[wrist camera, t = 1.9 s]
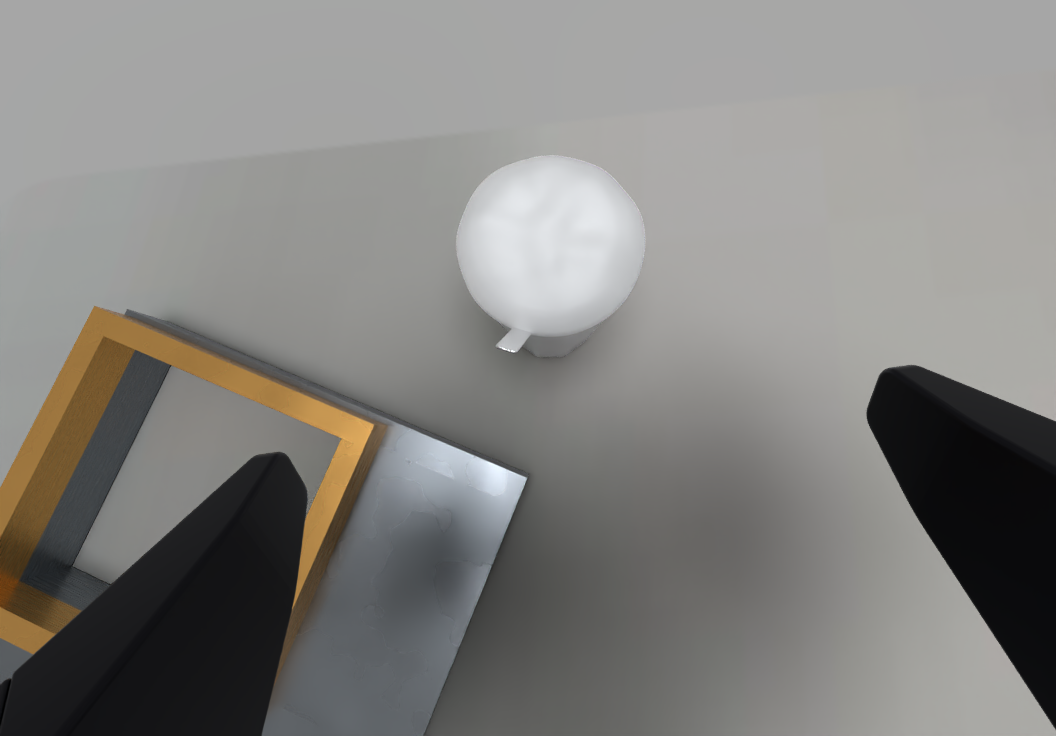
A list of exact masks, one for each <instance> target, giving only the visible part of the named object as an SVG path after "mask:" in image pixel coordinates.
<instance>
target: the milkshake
mask: <svg viewBox="0 0 1056 736" xmlns="http://www.w3.org/2000/svg"><path fill="white" fill-rule="evenodd" d="M456 252H457V258H458V262H459V266H460V270H461V273H462V276H463V278H464V281H465V283H466V286H467V288H468V290H469V292H470V294H471V295H472V297H473V298H474V300H475V301H476V303H477V304H478V305H479V306H480V307H481V308H482V309H483V310H484V311H485V312H486V313H487V314H488V315H489V316H491V317H492V318H493V319H495V320H496V321H497V322H498V323H499V324H500V325H501V326H502V327H503V328H504V329H505V330H506V331H507V334H506V335H505V336H504V337H503V338H502V339H501V340H500V341H499V342H498V343H497V344H496V345H495V347H496V348H497V349H500V350H504V351H507V352H510V353H517V352H518V351H519V350H520V348H521V347H524V348H525V349H526V350H528V351H529V352H531V353H532V354H534V355H535V356H536V357H565V356H566V355H567V354H569V353H570V352H571V351H573V350H574V349H575V348H577V347H578V346H579V345H581V344H582V343H584V342H585V341H586V340H587V339H588V338H589V336H590V335H591V334H592V333H593V332H594V331H595V330H596V328H597V327H598V326H599V325H600V324H601V323H602V322H604V321H605V320H606V319H607V318H608V317H609V316H610V315H612V314H613V313H614V312H615V311H616V310H617V309H618V308H619V307H620V306H621V305H622V304H623V303H624V301H625V300H626V299H627V297H628V296H629V294H630V293H631V291H632V289H633V287H634V285H635V283H636V281H637V278H638V276H639V273H640V270H641V267H642V263H643V259H644V253H645V230H644V224H643V219H642V216H641V213H640V211H639V209H638V207H637V205H636V204H635V202H634V201H633V200H632V198H631V197H630V196H629V195H628V194H627V192H626V191H625V190H624V189H623V188H622V187H621V185H620V184H619V183H618V182H617V181H616V180H615V179H614V178H613V177H612V176H611V175H610V174H609V173H608V172H606V171H605V170H604V169H602V168H600V167H598V166H596V165H594V164H591V163H588V162H585V161H582V160H578V159H574V158H570V157H565V156H557V155H545V156H537V157H532V158H528V159H524V160H521V161H518V162H514V163H511V164H509V165H506V166H504V167H502V168H500V169H498V170H496V171H495V172H493V173H492V174H490V175H489V176H488V177H487V178H486V179H485V180H484V181H483V182H482V183H481V184H480V185H479V186H478V187H477V189H476V190H475V192H474V193H473V195H472V196H471V198H470V200H469V202H468V204H467V206H466V209H465V211H464V213H463V216H462V219H461V222H460V224H459V228H458V232H457V237H456Z"/></svg>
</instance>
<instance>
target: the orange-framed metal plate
mask: <svg viewBox="0 0 1056 736" xmlns="http://www.w3.org/2000/svg"><path fill="white" fill-rule="evenodd" d="M170 365H172V366H174V367H177V368H179V369H181V370H184V371H186V372H188V373H191V374H193V375H195V376H198V377H200V378H202V379H205V380H207V381H209V382H212V383H214V384H216V385H219V386H221V387H223V388H226V389H228V390H230V391H233V392H235V393H237V394H240V395H242V396H244V397H247V398H249V399H251V400H254V401H256V402H258V403H261V404H263V405H265V406H268V407H270V408H272V409H275V410H277V411H279V412H282V413H284V414H286V415H289V416H291V417H293V418H296V419H298V420H300V421H303V422H305V423H307V424H310V425H312V426H314V427H317V428H319V429H321V430H324V431H326V432H328V433H331V434H333V435H335V436H338V437H340V438H342V439H341V441H340V443H339V445H338V448H337V450H336V452H335V454H334V456H333V459H332V461H331V463H330V465H329V468H328V470H327V472H326V474H325V477H324V479H323V481H322V483H321V485H320V488H319V490H318V492H317V494H316V497H315V499H314V501H313V503H312V506H311V508H310V510H309V512H308V515H307V517H306V519H305V525H304V533H303V541H302V549H301V557H300V565H299V573H298V580H297V587H296V593H295V598H294V603H293V607H292V612H291V616H290V620H289V624H288V628H287V633H286V637H285V641H284V645H283V649H282V653H281V657H280V662H279V666H278V670H277V674H276V678H275V682H274V686H273V691H272V695H271V699H270V703H269V707H268V711H267V716H266V720H265V724H264V728H263V732H262V736H424V734H425V731H426V729H427V726H428V724H429V722H430V719H431V717H432V714H433V712H434V709H435V707H436V704H437V702H438V699H439V697H440V694H441V692H442V689H443V687H444V684H445V682H446V679H447V677H448V674H449V672H450V669H451V667H452V665H453V662H454V660H455V657H456V655H457V652H458V650H459V647H460V645H461V642H462V640H463V637H464V635H465V632H466V630H467V627H468V625H469V622H470V620H471V617H472V615H473V612H474V610H475V607H476V605H477V603H478V600H479V598H480V595H481V593H482V590H483V588H484V585H485V583H486V580H487V578H488V575H489V573H490V570H491V568H492V565H493V563H494V560H495V558H496V555H497V553H498V550H499V548H500V546H501V543H502V541H503V538H504V536H505V533H506V531H507V528H508V526H509V523H510V521H511V518H512V516H513V513H514V511H515V508H516V506H517V503H518V501H519V498H520V496H521V493H522V491H523V488H524V486H525V484H526V481H527V479H528V476H529V474H528V473H526V472H523V471H521V470H519V469H516V468H514V467H512V466H509V465H507V464H504V463H502V462H500V461H497V460H495V459H493V458H490V457H488V456H485V455H483V454H481V453H478V452H476V451H474V450H471V449H469V448H466V447H464V446H462V445H459V444H457V443H455V442H452V441H450V440H447V439H445V438H443V437H440V436H438V435H436V434H433V433H431V432H428V431H426V430H424V429H421V428H419V427H417V426H414V425H412V424H409V423H407V422H405V421H402V420H400V419H398V418H395V417H393V416H390V415H388V414H386V413H383V412H381V411H379V410H376V409H374V408H371V407H369V406H367V405H364V404H362V403H360V402H357V401H355V400H353V399H350V398H348V397H345V396H343V395H341V394H338V393H336V392H334V391H331V390H329V389H326V388H324V387H322V386H319V385H317V384H315V383H312V382H310V381H307V380H305V379H303V378H300V377H298V376H296V375H293V374H291V373H288V372H286V371H284V370H281V369H279V368H277V367H274V366H272V365H269V364H267V363H265V362H262V361H260V360H258V359H255V358H253V357H250V356H248V355H246V354H243V353H241V352H239V351H236V350H234V349H231V348H229V347H227V346H224V345H222V344H220V343H217V342H215V341H212V340H210V339H208V338H205V337H203V336H201V335H198V334H196V333H193V332H191V331H189V330H186V329H184V328H182V327H179V326H177V325H174V324H172V323H170V322H167V321H164V320H161V319H158V318H154V317H151V316H148V315H145V314H141V313H138V312H135V311H131V310H128V309H127V311H126V313H125V315H124V314H120V313H117V312H113V311H110V310H107V309H103V308H100V307H96V306H94V308H93V310H92V312H91V313H90V315H89V317H88V319H87V321H86V323H85V325H84V327H83V329H82V331H81V333H80V335H79V337H78V339H77V341H76V342H75V344H74V346H73V348H72V350H71V352H70V354H69V356H68V358H67V360H66V362H65V364H64V366H63V368H62V370H61V371H60V373H59V375H58V377H57V379H56V381H55V383H54V385H53V387H52V389H51V391H50V393H49V395H48V397H47V399H46V400H45V402H44V404H43V406H42V408H41V410H40V412H39V414H38V416H37V418H36V420H35V422H34V424H33V426H32V428H31V429H30V431H29V433H28V435H27V437H26V439H25V441H24V443H23V445H22V447H21V449H20V451H19V453H18V455H17V457H16V458H15V460H14V462H13V464H12V466H11V468H10V470H9V472H8V474H7V476H6V478H5V480H4V482H3V484H2V486H1V487H0V684H1V683H2V682H3V681H4V680H6V679H8V678H12V675H13V673H14V672H15V670H17V669H18V668H19V667H20V666H21V665H22V664H23V663H24V662H25V661H27V660H28V659H29V658H30V657H31V656H32V655H33V654H34V653H35V652H37V651H38V650H39V649H40V648H41V647H42V646H43V645H44V644H45V643H47V642H48V641H49V640H50V639H51V638H52V637H53V636H54V635H55V634H57V633H58V632H59V631H60V630H61V629H62V628H63V627H64V626H65V625H67V624H68V623H69V622H70V621H71V620H72V619H73V618H74V617H75V616H77V615H78V614H79V613H80V612H81V611H82V610H83V609H84V608H86V607H87V606H88V605H89V604H90V603H91V602H92V601H93V600H94V599H96V598H97V597H98V596H99V595H100V594H101V593H102V592H103V591H104V590H106V589H107V588H108V587H109V586H110V585H109V584H107V583H105V582H103V581H101V580H99V579H97V578H94V577H92V576H90V575H88V574H86V573H84V572H82V571H80V570H78V569H76V568H73V567H71V566H72V564H73V562H74V560H75V558H76V556H77V554H78V552H79V550H80V548H81V546H82V544H83V542H84V540H85V538H86V536H87V534H88V532H89V530H90V527H91V525H92V523H93V521H94V519H95V517H96V515H97V513H98V511H99V509H100V507H101V505H102V503H103V501H104V499H105V497H106V495H107V493H108V491H109V489H110V487H111V485H112V483H113V481H114V479H115V477H116V475H117V473H118V471H119V469H120V467H121V465H122V463H123V461H124V459H125V457H126V455H127V452H128V450H129V448H130V446H131V444H132V442H133V440H134V438H135V436H136V434H137V432H138V430H139V428H140V426H141V424H142V422H143V420H144V418H145V416H146V414H147V412H148V410H149V408H150V406H151V404H152V402H153V400H154V398H155V396H156V394H157V392H158V390H159V388H160V386H161V384H162V382H163V380H164V378H165V375H166V373H167V371H168V369H169V367H170Z"/></svg>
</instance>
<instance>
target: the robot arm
mask: <svg viewBox="0 0 1056 736" xmlns="http://www.w3.org/2000/svg"><path fill="white" fill-rule="evenodd" d="M867 421H868V424H869V426H870V428H871V430H872V432H873V434H874V436H875V438H876V440H877V442H878V444H879V446H880V448H881V450H882V452H883V454H884V456H885V458H886V460H887V462H888V464H889V466H890V467H891V469H892V471H893V473H894V475H895V477H896V479H897V481H898V483H899V485H900V487H901V489H902V491H903V493H904V495H905V497H906V499H907V500H908V502H909V504H910V506H911V508H912V509H913V511H914V513H915V515H916V516H917V518H918V520H919V521H920V523H921V524H922V526H923V528H924V529H925V531H926V532H927V534H928V535H929V537H930V538H931V540H932V541H933V543H934V545H935V546H936V548H937V549H938V551H939V552H940V554H941V555H942V557H943V558H944V560H945V561H946V563H947V564H948V566H949V567H950V569H951V571H952V572H953V574H954V575H955V577H956V578H957V580H958V581H959V583H960V584H961V586H962V587H963V589H964V590H965V592H966V593H967V595H968V596H969V598H970V600H971V601H972V603H973V604H974V606H975V607H976V609H977V610H978V612H979V613H980V615H981V616H982V618H983V619H984V621H985V622H986V624H987V625H988V627H989V629H990V630H991V632H992V633H993V635H994V636H995V638H996V639H997V641H998V642H999V644H1000V645H1001V647H1002V648H1003V650H1004V651H1005V653H1006V655H1007V656H1008V658H1009V659H1010V661H1011V662H1012V664H1013V665H1014V667H1015V668H1016V670H1017V671H1018V673H1019V674H1020V676H1021V677H1022V679H1023V680H1024V682H1025V684H1026V685H1027V687H1028V688H1029V690H1030V691H1031V693H1032V694H1033V696H1034V697H1035V699H1036V700H1037V702H1038V703H1039V705H1040V706H1041V708H1042V710H1043V711H1044V713H1045V714H1046V716H1047V717H1048V719H1049V720H1050V722H1051V723H1052V725H1053V726H1054V728H1055V729H1056V421H1053V420H1051V419H1048V418H1046V417H1044V416H1041V415H1039V414H1036V413H1034V412H1031V411H1029V410H1026V409H1024V408H1021V407H1019V406H1016V405H1014V404H1011V403H1009V402H1006V401H1004V400H1001V399H999V398H997V397H994V396H992V395H989V394H987V393H984V392H982V391H979V390H977V389H974V388H972V387H969V386H967V385H964V384H962V383H959V382H957V381H954V380H952V379H950V378H947V377H945V376H942V375H940V374H937V373H935V372H932V371H930V370H927V369H925V368H922V367H920V366H916V365H906V366H899V367H892V368H887V369H885V370H884V371H882V372H881V373H880V375H879V377H878V380H877V383H876V385H875V388H874V391H873V393H872V396H871V399H870V402H869V404H868V407H867ZM307 501H308V495H307V490H306V487H305V484H304V483H303V481H302V479H301V477H300V476H299V474H298V472H297V471H296V469H295V467H294V466H293V464H292V462H291V460H290V459H289V457H288V456H287V455H286V454H285V453H283V452H273V453H266V454H259V455H256V456H254V457H253V458H251V459H250V460H249V461H248V462H247V463H246V464H244V465H243V466H242V467H241V468H240V469H239V470H238V471H237V472H236V473H234V474H233V475H232V476H231V477H230V478H229V479H228V480H227V481H226V482H224V483H223V484H222V485H221V486H220V487H219V488H218V489H217V490H216V491H214V492H213V493H212V494H211V495H210V496H209V497H208V498H207V499H206V500H204V501H203V502H202V503H201V504H200V505H199V506H198V507H197V508H196V509H194V510H193V511H192V512H191V513H190V514H189V515H188V516H187V517H186V518H184V519H183V520H182V521H181V522H180V523H179V524H178V525H177V526H176V527H174V528H173V529H172V530H171V531H170V532H169V533H168V534H167V535H166V536H164V537H163V538H162V539H161V540H160V541H159V542H158V543H157V544H156V545H154V546H153V547H152V548H151V549H150V550H149V551H148V552H147V553H146V554H144V555H143V556H142V557H141V558H140V559H139V560H138V561H137V562H136V563H134V564H133V565H132V566H131V567H130V568H129V569H128V570H127V571H126V572H124V573H123V574H122V575H121V576H120V577H119V578H118V579H117V580H116V581H114V582H113V583H112V584H111V585H110V586H109V587H108V588H107V589H106V590H104V591H103V592H102V593H101V594H100V595H99V596H98V597H97V598H96V599H94V600H93V601H92V602H91V603H90V604H89V605H88V606H87V607H86V608H84V609H83V610H82V611H81V612H80V613H79V614H78V615H77V616H75V617H74V618H73V619H72V620H71V621H70V622H69V623H68V624H67V625H65V626H64V627H63V628H62V629H61V630H60V631H59V632H58V633H57V634H55V635H54V636H53V637H52V638H51V639H50V640H49V641H48V642H47V643H45V644H44V645H43V646H42V647H41V648H40V649H39V650H38V651H37V652H35V653H34V654H33V655H32V656H31V657H30V658H29V659H28V660H27V661H25V662H24V663H23V664H22V665H21V666H20V667H19V668H18V669H17V670H15V672H14V673H13V675H12V678H8V679H6V680H4V681H3V682H2V683H1V684H0V736H262V732H263V728H264V724H265V720H266V716H267V711H268V707H269V703H270V699H271V695H272V691H273V686H274V682H275V678H276V674H277V670H278V666H279V662H280V657H281V653H282V649H283V645H284V641H285V637H286V633H287V628H288V624H289V620H290V616H291V612H292V607H293V603H294V598H295V593H296V587H297V580H298V573H299V565H300V557H301V549H302V541H303V533H304V525H305V518H306V510H307Z"/></svg>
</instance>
